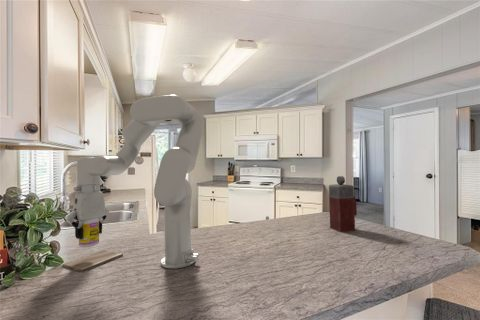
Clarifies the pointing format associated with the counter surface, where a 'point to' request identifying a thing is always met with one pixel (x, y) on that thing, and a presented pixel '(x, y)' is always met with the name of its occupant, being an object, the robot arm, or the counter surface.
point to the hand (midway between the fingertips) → (89, 235)
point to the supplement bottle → (90, 233)
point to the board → (92, 260)
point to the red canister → (342, 206)
